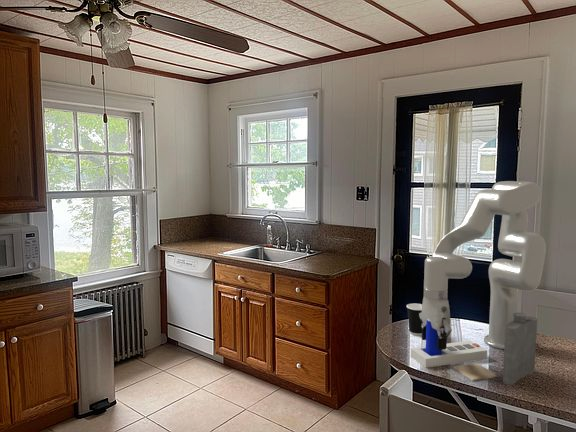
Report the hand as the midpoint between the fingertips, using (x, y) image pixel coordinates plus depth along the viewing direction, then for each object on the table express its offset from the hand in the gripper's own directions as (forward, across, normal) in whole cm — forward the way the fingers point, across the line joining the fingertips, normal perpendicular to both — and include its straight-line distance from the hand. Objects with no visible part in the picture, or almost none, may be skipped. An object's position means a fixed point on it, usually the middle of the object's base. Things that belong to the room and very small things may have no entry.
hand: (433, 344), depth 149 cm
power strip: (+6, 0, -6) cm, 8 cm away
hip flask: (+6, -18, -18) cm, 26 cm away
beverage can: (+6, 0, 0) cm, 6 cm away
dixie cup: (+6, +23, -8) cm, 25 cm away
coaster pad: (+6, -12, -7) cm, 15 cm away
